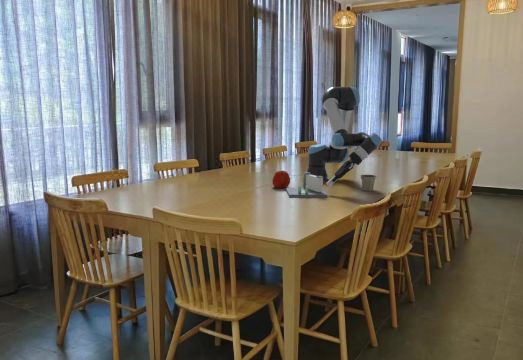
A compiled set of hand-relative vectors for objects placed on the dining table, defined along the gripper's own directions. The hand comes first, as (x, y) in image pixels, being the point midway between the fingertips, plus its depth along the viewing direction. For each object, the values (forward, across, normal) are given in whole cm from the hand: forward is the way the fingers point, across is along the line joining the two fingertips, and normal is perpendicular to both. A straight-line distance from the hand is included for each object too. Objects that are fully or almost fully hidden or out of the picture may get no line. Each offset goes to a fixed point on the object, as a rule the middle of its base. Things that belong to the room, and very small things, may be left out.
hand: (327, 185), depth 254 cm
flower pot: (-15, +12, -22) cm, 29 cm away
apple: (+21, +21, +14) cm, 33 cm away
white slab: (+8, +4, +4) cm, 10 cm away
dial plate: (+12, +2, +5) cm, 13 cm away
